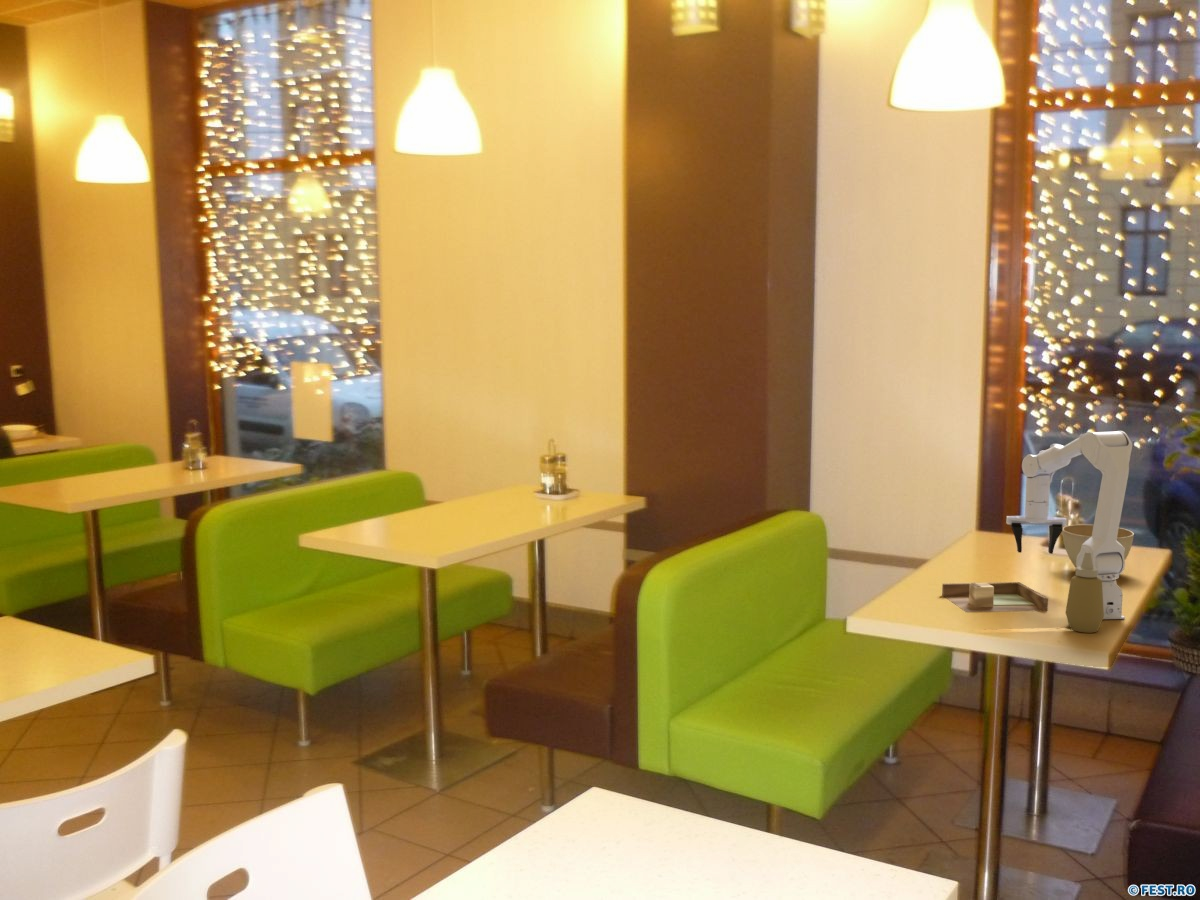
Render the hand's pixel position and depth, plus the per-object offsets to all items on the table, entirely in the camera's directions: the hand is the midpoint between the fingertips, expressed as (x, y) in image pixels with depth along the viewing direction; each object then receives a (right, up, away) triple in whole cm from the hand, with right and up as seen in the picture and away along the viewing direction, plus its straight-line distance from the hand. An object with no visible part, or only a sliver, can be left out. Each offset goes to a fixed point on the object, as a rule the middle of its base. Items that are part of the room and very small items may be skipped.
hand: (1034, 552), depth 294 cm
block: (-20, -11, -17) cm, 28 cm away
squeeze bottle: (-3, -15, -35) cm, 38 cm away
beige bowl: (+24, -8, +19) cm, 32 cm away
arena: (-16, -12, -14) cm, 24 cm away
